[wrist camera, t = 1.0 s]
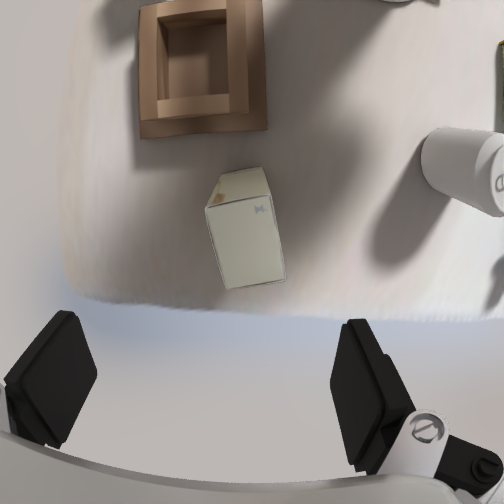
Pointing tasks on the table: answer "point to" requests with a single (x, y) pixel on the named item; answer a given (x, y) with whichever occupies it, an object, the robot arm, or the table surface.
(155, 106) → the slotted stand
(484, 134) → the can
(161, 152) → the table surface
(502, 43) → the hardcover book
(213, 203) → the skincare box
